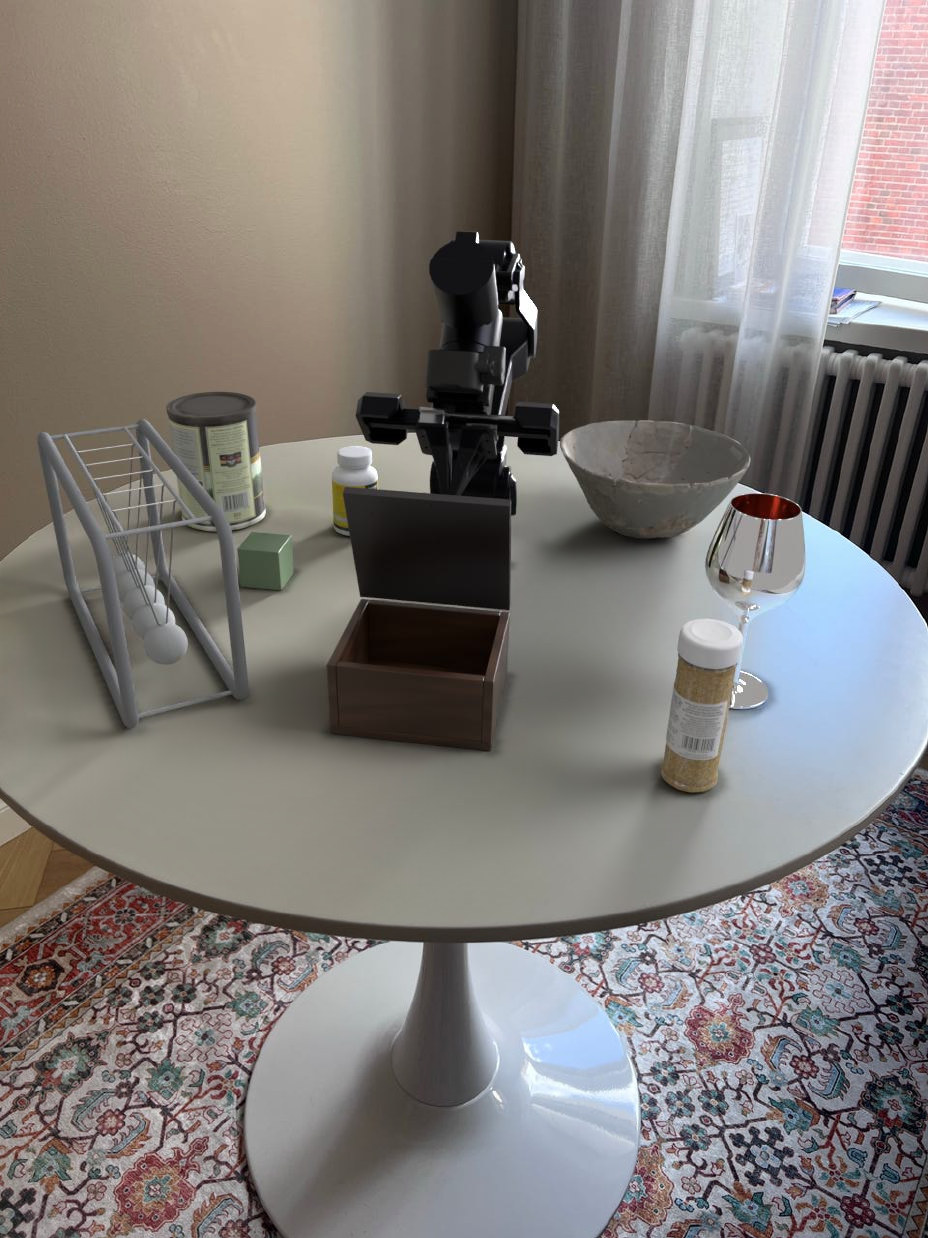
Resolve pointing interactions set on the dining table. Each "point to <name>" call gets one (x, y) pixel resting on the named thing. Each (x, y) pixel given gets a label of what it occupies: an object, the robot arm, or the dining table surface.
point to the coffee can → (219, 455)
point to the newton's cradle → (142, 571)
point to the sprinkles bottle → (700, 703)
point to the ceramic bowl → (653, 473)
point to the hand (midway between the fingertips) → (447, 507)
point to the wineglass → (756, 569)
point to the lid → (431, 547)
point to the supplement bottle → (350, 480)
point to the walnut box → (419, 674)
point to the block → (265, 560)
